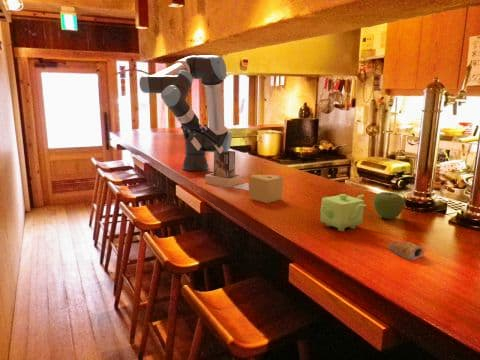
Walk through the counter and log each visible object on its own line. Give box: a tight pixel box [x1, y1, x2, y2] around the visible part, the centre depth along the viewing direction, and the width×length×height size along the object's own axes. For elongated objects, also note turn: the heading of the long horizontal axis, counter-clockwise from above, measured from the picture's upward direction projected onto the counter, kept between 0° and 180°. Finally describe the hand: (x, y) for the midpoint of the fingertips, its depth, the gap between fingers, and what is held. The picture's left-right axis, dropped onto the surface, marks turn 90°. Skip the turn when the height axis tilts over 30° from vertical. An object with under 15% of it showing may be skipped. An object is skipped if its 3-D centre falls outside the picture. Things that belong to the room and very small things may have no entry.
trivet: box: [232, 182, 249, 192], centre depth 181 cm, size 11×11×1 cm
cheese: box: [248, 174, 284, 204], centre depth 161 cm, size 10×11×10 cm
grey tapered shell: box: [388, 240, 425, 261], centre depth 108 cm, size 9×7×4 cm
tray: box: [204, 172, 244, 188], centre depth 189 cm, size 12×15×4 cm
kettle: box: [319, 193, 367, 232], centre depth 129 cm, size 15×14×11 cm
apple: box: [372, 191, 407, 220], centre depth 139 cm, size 11×10×10 cm
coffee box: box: [213, 150, 236, 179], centre depth 188 cm, size 9×6×16 cm
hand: (210, 149), depth 177 cm, fingers open, 13 cm apart
